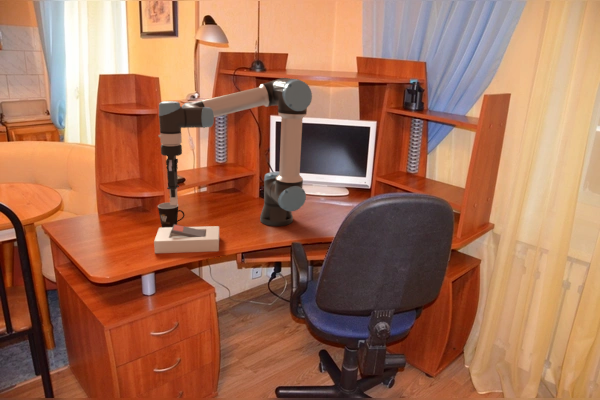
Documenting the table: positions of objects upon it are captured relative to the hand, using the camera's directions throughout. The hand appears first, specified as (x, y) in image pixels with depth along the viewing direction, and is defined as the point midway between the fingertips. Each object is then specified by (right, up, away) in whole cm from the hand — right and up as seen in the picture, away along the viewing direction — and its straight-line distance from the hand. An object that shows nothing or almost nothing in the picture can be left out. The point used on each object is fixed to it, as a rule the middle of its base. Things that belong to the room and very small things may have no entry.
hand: (174, 204), depth 171 cm
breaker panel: (+4, -16, +6) cm, 18 cm away
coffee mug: (-8, -11, +22) cm, 26 cm away
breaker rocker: (+4, -12, +4) cm, 13 cm away
